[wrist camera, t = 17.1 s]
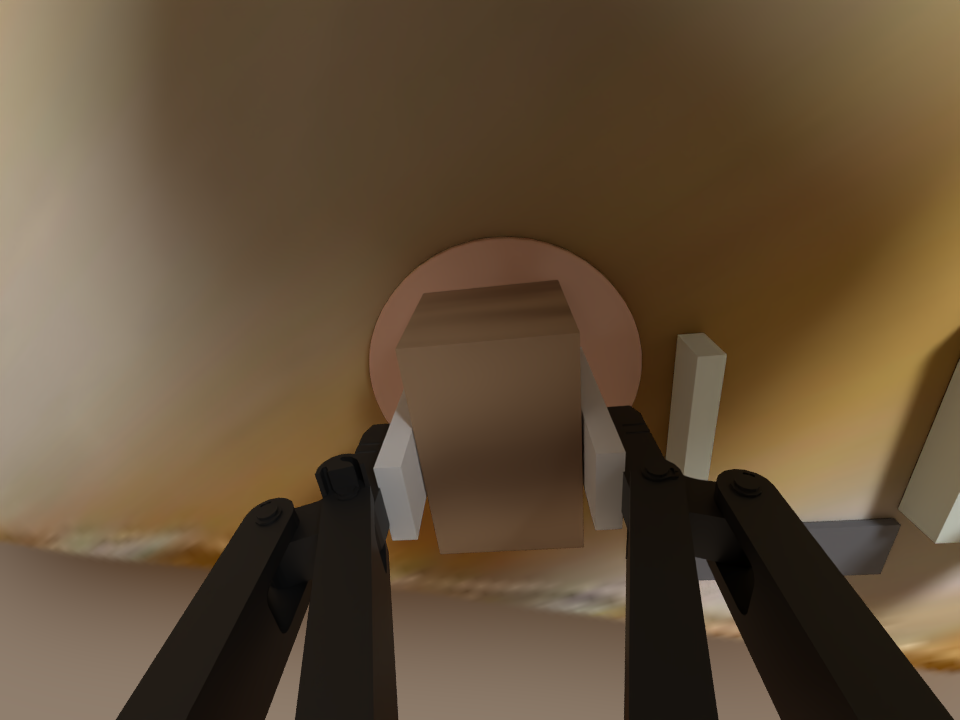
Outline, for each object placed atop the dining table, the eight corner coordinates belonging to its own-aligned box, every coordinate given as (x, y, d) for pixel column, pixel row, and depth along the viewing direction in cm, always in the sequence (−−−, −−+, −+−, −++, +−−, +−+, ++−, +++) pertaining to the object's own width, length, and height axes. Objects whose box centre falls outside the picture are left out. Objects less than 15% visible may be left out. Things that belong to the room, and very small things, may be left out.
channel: (677, 334, 18) (697, 356, 16) (1008, 308, 17) (1069, 328, 15) (659, 520, 22) (673, 553, 20) (920, 508, 21) (959, 542, 19)
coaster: (345, 252, 17) (339, 255, 16) (645, 221, 16) (650, 224, 15) (399, 479, 21) (396, 488, 21) (631, 466, 21) (635, 474, 20)
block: (423, 293, 17) (395, 349, 12) (557, 279, 16) (579, 332, 12) (453, 462, 20) (440, 554, 16) (564, 454, 20) (583, 547, 15)
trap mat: (679, 528, 22) (682, 534, 22) (894, 518, 21) (901, 525, 21) (673, 574, 24) (676, 581, 23) (874, 567, 23) (879, 574, 22)
